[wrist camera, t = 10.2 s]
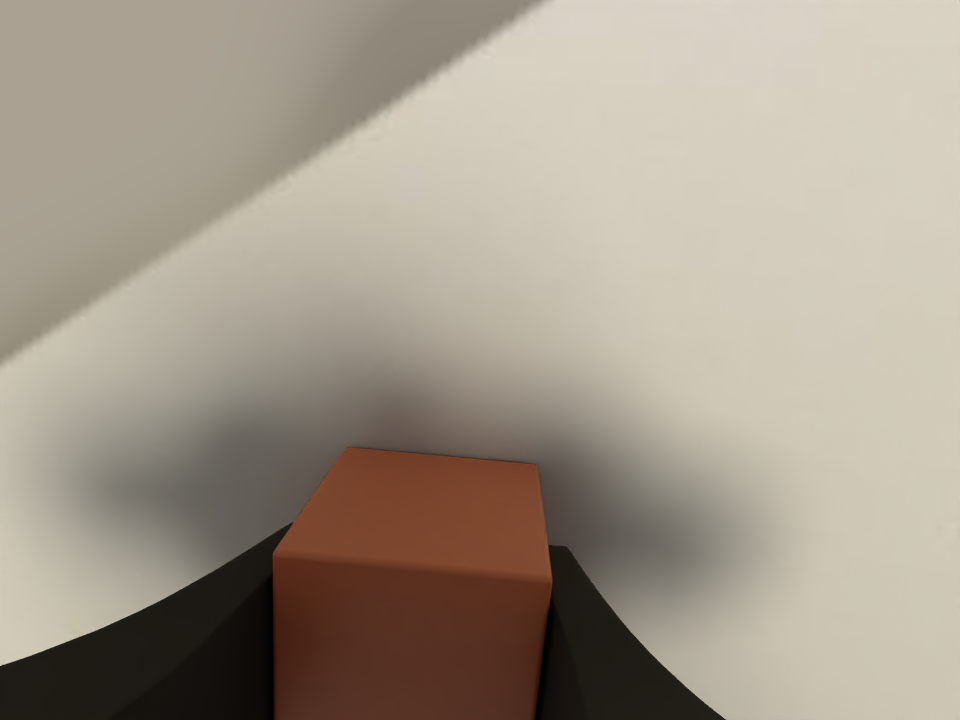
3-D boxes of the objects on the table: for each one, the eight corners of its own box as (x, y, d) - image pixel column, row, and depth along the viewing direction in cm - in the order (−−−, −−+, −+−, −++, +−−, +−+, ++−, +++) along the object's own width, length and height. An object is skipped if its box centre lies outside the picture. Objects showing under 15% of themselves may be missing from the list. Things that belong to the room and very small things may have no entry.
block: (341, 612, 13) (271, 778, 9) (345, 444, 12) (269, 551, 8) (520, 630, 13) (525, 805, 9) (539, 462, 12) (553, 579, 8)
